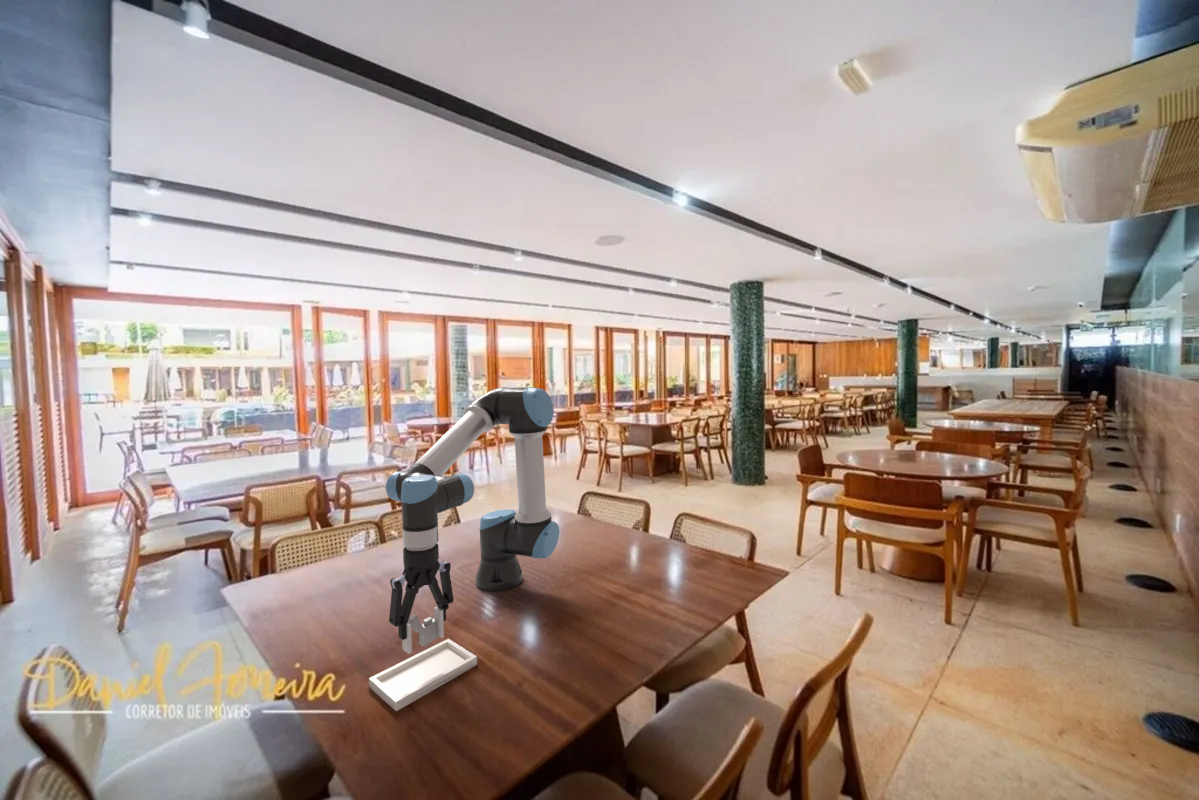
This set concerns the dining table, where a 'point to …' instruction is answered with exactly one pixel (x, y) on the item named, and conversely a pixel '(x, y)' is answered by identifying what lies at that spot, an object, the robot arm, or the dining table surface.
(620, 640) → the dining table surface
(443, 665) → the tray
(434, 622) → the lighter
